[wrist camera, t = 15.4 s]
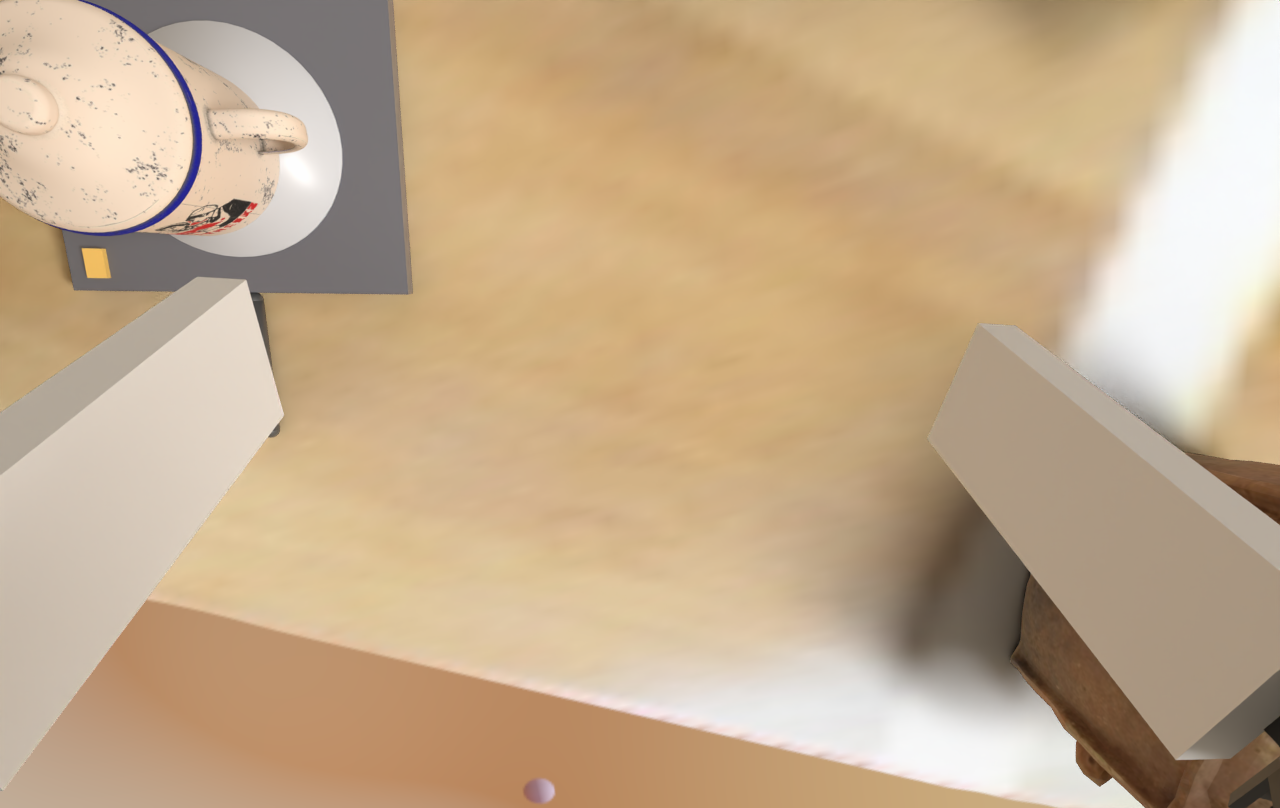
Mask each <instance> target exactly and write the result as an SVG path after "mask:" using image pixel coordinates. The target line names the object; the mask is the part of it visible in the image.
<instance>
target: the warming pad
mask: <svg viewBox="0 0 1280 808" xmlns="http://www.w3.org/2000/svg"><path fill="white" fill-rule="evenodd" d="M85 1H88V2H91V3H94V4H97V5H99V6H102V7H104V8H106V9H109V10H111V11H112V12H114V13H116V14H118V15H120V16H122V17H123V18H125V19H127V20H128V21H130V22H131V23H133V24H134V25H136V26H137V27H138V28H140V29H141V30H142V31H144V32H145V33H146V34H147V35H148V36H149V37H151V38H152V39H153V40H154V41H156V42H158V43H160V44H162V45H163V46H165V47H167V48H169V49H171V50H173V51H175V52H177V53H178V54H180V55H182V56H184V57H186V58H188V59H190V60H192V61H194V62H195V63H197V64H199V65H201V66H203V67H205V68H207V69H209V70H210V71H212V72H214V73H216V74H218V75H220V76H222V77H224V78H225V79H227V80H229V81H230V82H232V83H233V84H234V85H236V86H237V87H238V88H240V89H241V90H242V91H243V92H244V93H245V94H247V95H248V96H249V97H250V98H251V99H252V101H253V102H254V103H255V104H256V105H257V106H258V108H259V109H266V110H274V111H279V112H284V113H287V114H290V115H293V116H295V117H297V118H298V119H300V120H301V121H302V122H303V123H304V125H305V127H306V130H307V135H308V143H307V145H306V146H305V147H304V148H303V149H301V150H299V151H296V152H291V153H283V154H279V161H280V172H279V180H278V184H277V188H276V191H275V194H274V196H273V198H272V200H271V202H270V204H269V205H268V207H267V208H266V209H265V211H264V212H263V213H262V214H261V215H260V216H259V217H258V218H257V219H256V220H254V221H253V222H252V223H250V224H249V225H247V226H245V227H244V228H241V229H239V230H237V231H234V232H231V233H227V234H222V235H215V236H196V235H177V234H159V233H141V232H134V233H129V234H124V235H115V236H93V235H84V234H78V233H73V232H69V231H66V230H62V233H63V238H64V243H65V248H66V253H67V258H68V263H69V268H70V273H71V278H72V283H73V288H74V290H97V291H177V290H179V289H180V288H181V287H183V286H184V285H186V284H187V283H189V282H190V281H192V280H193V279H195V278H196V277H210V278H227V279H243V280H247V284H248V288H249V291H250V295H251V298H252V302H253V306H254V309H255V313H256V316H257V320H258V323H259V327H260V331H261V334H262V338H263V341H264V345H265V349H266V352H267V356H268V359H269V363H270V366H271V370H272V362H271V354H270V346H269V338H268V330H267V322H266V314H265V306H264V299H263V297H262V295H260V294H259V293H336V294H412V293H413V288H412V273H411V258H410V244H409V229H408V214H407V200H406V185H405V170H404V156H403V141H402V126H401V111H400V97H399V82H398V67H397V53H396V38H395V23H394V9H393V1H392V0H85ZM272 374H273V370H272ZM279 432H280V425H279V423H278V424H277V426H276V427H275V428H274V430H273V431H272V432H271V434H270V435H269V436H268V437H270V438H271V437H275V436H277V435H278V434H279Z"/></svg>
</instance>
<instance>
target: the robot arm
mask: <svg viewBox="0 0 1280 808" xmlns="http://www.w3.org/2000/svg"><path fill="white" fill-rule="evenodd" d="M283 416H284V413H283V409H282V406H281V402H280V399H279V395H278V392H277V388H276V384H275V381H274V377H273V374H272V370H271V366H270V363H269V359H268V356H267V352H266V349H265V345H264V341H263V338H262V334H261V331H260V327H259V323H258V320H257V316H256V313H255V309H254V306H253V302H252V298H251V295H250V291H249V288H248V284H247V280H243V279H227V278H210V277H196V278H195V279H193V280H192V281H190V282H189V283H187V284H186V285H184V286H183V287H181V288H180V289H179V290H177V291H176V292H174V293H173V294H171V295H170V296H168V297H167V298H166V299H164V300H163V301H161V302H160V303H158V304H157V305H155V306H154V307H152V308H151V309H150V310H148V311H147V312H145V313H144V314H142V315H141V316H139V317H138V318H137V319H135V320H134V321H132V322H131V323H129V324H128V325H126V326H125V327H123V328H122V329H121V330H119V331H118V332H116V333H115V334H113V335H112V336H110V337H109V338H108V339H106V340H105V341H103V342H102V343H100V344H99V345H97V346H96V347H94V348H93V349H92V350H90V351H89V352H87V353H86V354H84V355H83V356H81V357H80V358H79V359H77V360H76V361H74V362H73V363H71V364H70V365H68V366H67V367H65V368H64V369H63V370H61V371H60V372H58V373H57V374H55V375H54V376H52V377H51V378H50V379H48V380H47V381H45V382H44V383H42V384H41V385H39V386H38V387H36V388H35V389H34V390H32V391H31V392H29V393H28V394H26V395H25V396H23V397H22V398H21V399H19V400H18V401H16V402H15V403H13V404H12V405H10V406H9V407H7V408H6V409H5V410H3V411H2V412H0V791H4V789H5V788H6V787H7V785H8V784H9V783H10V781H11V780H12V779H13V777H14V776H15V775H16V773H17V772H18V770H19V769H20V768H21V767H22V765H23V764H24V763H25V761H26V760H27V759H28V757H29V756H30V755H31V753H32V752H33V751H34V749H35V748H36V746H37V745H38V744H39V742H40V741H41V740H42V738H43V737H44V736H45V734H46V733H47V732H48V730H49V729H50V728H51V726H52V725H53V724H54V722H55V721H56V720H57V718H58V717H59V716H60V714H61V713H62V712H63V710H64V709H65V707H66V706H67V705H68V704H69V702H70V701H71V700H72V698H73V697H74V696H75V694H76V693H77V692H78V690H79V689H80V688H81V686H82V685H83V684H84V682H85V681H86V680H87V678H88V677H89V676H90V674H91V673H92V671H93V670H94V669H95V668H96V666H97V665H98V664H99V662H100V661H101V660H102V658H103V657H104V656H105V654H106V653H107V651H108V650H109V649H110V647H111V646H112V645H113V644H114V642H115V641H116V640H117V638H118V637H119V635H120V634H121V633H122V631H123V630H124V629H125V627H126V626H127V625H128V623H129V622H130V621H131V619H132V618H133V617H134V615H135V614H136V613H137V611H138V610H139V609H140V607H141V606H142V605H143V603H144V602H145V601H146V599H147V598H148V597H149V595H150V594H151V593H152V591H153V590H154V589H155V587H156V586H157V585H158V583H159V582H160V581H161V579H162V578H163V577H164V575H165V574H166V573H167V571H168V570H169V569H170V567H171V566H172V565H173V563H174V562H175V561H176V559H177V558H178V557H179V555H180V554H181V553H182V551H183V550H184V549H185V547H186V546H187V545H188V543H189V542H190V541H191V539H192V538H193V537H194V535H195V534H196V533H197V531H198V530H199V529H200V527H201V526H202V525H203V523H204V522H205V520H206V519H207V518H208V516H209V515H210V514H211V512H212V511H213V510H214V508H215V507H216V506H217V504H218V503H219V502H220V500H221V499H222V498H223V496H224V495H225V494H226V492H227V491H228V490H229V488H230V487H231V486H232V484H233V483H234V482H235V480H236V479H237V478H238V476H239V475H240V474H241V472H242V471H243V470H244V468H245V467H246V466H247V464H248V463H249V462H250V460H251V459H252V458H253V456H254V455H255V454H256V452H257V451H258V450H259V448H260V447H261V446H262V444H263V443H264V442H265V440H266V439H267V438H268V436H269V435H270V434H271V432H272V431H273V430H274V428H275V427H276V426H277V424H278V423H279V422H280V420H281V419H282V418H283ZM927 440H928V441H929V442H930V444H931V445H932V446H933V448H934V449H935V450H936V451H937V453H938V454H939V455H940V457H941V458H942V459H943V460H944V462H945V463H946V464H947V466H948V467H949V468H950V469H951V471H952V472H953V473H954V475H955V476H956V477H957V478H958V480H959V481H960V482H961V484H962V485H963V486H964V488H965V489H966V490H967V491H968V493H969V494H970V495H971V497H972V498H973V499H974V500H975V502H976V503H977V504H978V506H979V507H980V508H981V509H982V511H983V512H984V513H985V515H986V516H987V517H988V518H989V520H990V521H991V522H992V524H993V525H994V526H995V528H996V529H997V530H998V531H999V533H1000V534H1001V535H1002V537H1003V538H1004V539H1005V540H1006V542H1007V543H1008V544H1009V546H1010V547H1011V548H1012V549H1013V551H1014V552H1015V553H1016V555H1017V556H1018V557H1019V558H1020V560H1021V561H1022V562H1023V564H1024V565H1025V566H1026V567H1027V569H1028V570H1029V571H1030V573H1031V574H1032V575H1033V577H1034V578H1035V579H1036V580H1037V582H1038V583H1039V584H1040V586H1041V587H1042V588H1043V589H1044V591H1045V592H1046V593H1047V595H1048V596H1049V597H1050V598H1051V600H1052V601H1053V602H1054V604H1055V605H1056V606H1057V607H1058V609H1059V610H1060V611H1061V613H1062V614H1063V615H1064V617H1065V618H1066V619H1067V620H1068V622H1069V623H1070V624H1071V626H1072V627H1073V628H1074V629H1075V631H1076V632H1077V633H1078V635H1079V636H1080V637H1081V638H1082V640H1083V641H1084V642H1085V644H1086V645H1087V646H1088V647H1089V649H1090V650H1091V651H1092V653H1093V654H1094V655H1095V657H1096V658H1097V659H1098V660H1099V662H1100V663H1101V664H1102V666H1103V667H1104V668H1105V669H1106V671H1107V672H1108V673H1109V675H1110V676H1111V677H1112V678H1113V680H1114V681H1115V682H1116V684H1117V685H1118V686H1119V687H1120V689H1121V690H1122V691H1123V693H1124V694H1125V695H1126V697H1127V698H1128V699H1129V700H1130V702H1131V703H1132V704H1133V706H1134V707H1135V708H1136V709H1137V711H1138V712H1139V713H1140V715H1141V716H1142V717H1143V718H1144V720H1145V721H1146V722H1147V724H1148V725H1149V726H1150V727H1151V729H1152V730H1153V731H1154V733H1155V734H1156V735H1157V736H1158V738H1159V739H1160V740H1161V742H1162V743H1163V744H1164V746H1165V747H1166V748H1167V749H1168V751H1169V752H1170V753H1171V755H1172V756H1173V757H1174V758H1175V760H1198V759H1231V758H1232V757H1233V756H1234V755H1236V754H1237V753H1238V752H1239V751H1241V750H1242V749H1243V748H1244V747H1245V746H1247V745H1248V744H1249V743H1250V742H1252V741H1253V740H1254V739H1255V738H1257V737H1258V736H1259V735H1260V734H1262V733H1263V732H1264V731H1265V732H1266V733H1267V734H1268V735H1269V736H1270V737H1271V738H1272V739H1273V740H1274V741H1275V742H1276V744H1277V745H1278V746H1279V747H1280V525H1279V524H1278V523H1276V522H1275V521H1274V520H1272V519H1271V518H1270V517H1268V516H1267V515H1266V514H1264V513H1263V512H1262V511H1260V510H1259V509H1258V508H1257V507H1255V506H1254V505H1253V504H1251V503H1250V502H1249V501H1247V500H1246V499H1245V498H1243V497H1242V496H1241V495H1239V494H1238V493H1237V492H1235V491H1234V490H1233V489H1231V488H1230V487H1229V486H1227V485H1226V484H1225V483H1223V482H1222V481H1221V480H1219V479H1218V478H1217V477H1215V476H1214V475H1213V474H1211V473H1210V472H1209V471H1207V470H1206V469H1205V468H1203V467H1202V466H1201V465H1200V464H1198V463H1197V462H1196V461H1194V460H1193V459H1192V458H1190V457H1189V456H1188V455H1186V454H1185V453H1184V452H1182V451H1181V450H1180V449H1178V448H1177V447H1176V446H1174V445H1173V444H1172V443H1170V442H1169V441H1168V440H1166V439H1165V438H1164V437H1162V436H1161V435H1160V434H1158V433H1157V432H1156V431H1154V430H1153V429H1152V428H1150V427H1149V426H1148V425H1146V424H1145V423H1144V422H1142V421H1141V420H1140V419H1139V418H1137V417H1136V416H1135V415H1133V414H1132V413H1131V412H1129V411H1128V410H1127V409H1125V408H1124V407H1123V406H1121V405H1120V404H1119V403H1117V402H1116V401H1115V400H1113V399H1112V398H1111V397H1109V396H1108V395H1107V394H1105V393H1104V392H1103V391H1101V390H1100V389H1099V388H1097V387H1096V386H1095V385H1093V384H1092V383H1091V382H1089V381H1088V380H1087V379H1085V378H1084V377H1083V376H1082V375H1080V374H1079V373H1078V372H1076V371H1075V370H1074V369H1072V368H1071V367H1070V366H1068V365H1067V364H1066V363H1064V362H1063V361H1062V360H1060V359H1059V358H1058V357H1056V356H1055V355H1054V354H1052V353H1051V352H1050V351H1048V350H1047V349H1046V348H1044V347H1043V346H1042V345H1040V344H1039V343H1038V342H1036V341H1035V340H1034V339H1032V338H1031V337H1030V336H1028V335H1027V334H1026V333H1024V332H1023V331H1022V330H1021V329H1019V328H1018V327H1017V326H1015V325H999V324H982V323H978V325H977V327H976V329H975V331H974V334H973V336H972V338H971V340H970V343H969V345H968V347H967V349H966V352H965V354H964V356H963V358H962V361H961V363H960V365H959V367H958V370H957V372H956V374H955V376H954V379H953V381H952V383H951V385H950V388H949V390H948V392H947V394H946V397H945V399H944V401H943V404H942V406H941V408H940V410H939V413H938V415H937V417H936V419H935V422H934V424H933V426H932V428H931V431H930V433H929V435H928V437H927ZM1259 798H1262V799H1265V800H1269V801H1272V804H1273V806H1271V807H1270V808H1280V756H1279V757H1278V758H1277V759H1275V760H1274V761H1273V762H1271V763H1270V764H1269V765H1267V766H1266V767H1265V768H1264V769H1262V770H1261V771H1260V772H1258V773H1257V774H1256V775H1254V776H1253V777H1252V778H1250V779H1249V780H1248V781H1246V782H1245V783H1244V784H1242V785H1241V786H1240V787H1238V788H1237V789H1236V790H1235V791H1233V792H1232V793H1231V794H1230V798H1229V803H1228V807H1229V808H1246V807H1248V806H1249V805H1251V804H1252V803H1253V802H1255V801H1256V800H1258V799H1259Z"/></svg>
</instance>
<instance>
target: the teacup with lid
mask: <svg viewBox="0 0 1280 808" xmlns="http://www.w3.org/2000/svg"><path fill="white" fill-rule="evenodd" d="M307 143H308V135H307V130H306V127H305V125H304V123H303V122H302V121H301V120H300V119H298V118H297V117H295V116H293V115H290V114H287V113H284V112H279V111H274V110H266V109H259V108H258V106H257V105H256V104H255V103H254V102H253V101H252V99H251V98H250V97H249V96H248V95H247V94H245V93H244V92H243V91H242V90H241V89H240V88H238V87H237V86H236V85H234V84H233V83H232V82H230V81H229V80H227V79H225V78H224V77H222V76H220V75H218V74H216V73H214V72H212V71H210V70H209V69H207V68H205V67H203V66H201V65H199V64H197V63H195V62H194V61H192V60H190V59H188V58H186V57H184V56H182V55H180V54H178V53H177V52H175V51H173V50H171V49H169V48H167V47H165V46H163V45H162V44H160V43H158V42H156V41H154V40H153V39H152V38H151V37H149V36H148V35H147V34H146V33H145V32H144V31H142V30H141V29H140V28H138V27H137V26H136V25H134V24H133V23H131V22H130V21H128V20H127V19H125V18H123V17H122V16H120V15H118V14H116V13H114V12H112V11H111V10H109V9H106V8H104V7H102V6H99V5H97V4H94V3H91V2H88V1H85V0H2V1H0V197H2V198H3V199H4V200H6V201H7V202H8V203H9V204H11V205H13V206H14V207H16V208H17V209H19V210H20V211H22V212H24V213H26V214H28V215H29V216H31V217H33V218H35V219H37V220H39V221H41V222H44V223H46V224H48V225H51V226H53V227H56V228H59V229H62V230H66V231H69V232H73V233H78V234H84V235H93V236H115V235H124V234H129V233H134V232H141V233H159V234H177V235H196V236H215V235H222V234H227V233H231V232H234V231H237V230H239V229H241V228H244V227H245V226H247V225H249V224H250V223H252V222H253V221H254V220H256V219H257V218H258V217H259V216H260V215H261V214H262V213H263V212H264V211H265V209H266V208H267V207H268V205H269V204H270V202H271V200H272V198H273V196H274V194H275V191H276V188H277V184H278V180H279V172H280V161H279V154H283V153H291V152H296V151H299V150H301V149H303V148H304V147H305V146H306V145H307Z"/></svg>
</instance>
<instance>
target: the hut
mask: <svg viewBox="0 0 1280 808" xmlns="http://www.w3.org/2000/svg"><path fill="white" fill-rule="evenodd" d="M1185 454H1186V455H1188V456H1189V457H1190V458H1192V459H1193V460H1194V461H1196V462H1197V463H1198V464H1200V465H1201V466H1202V467H1203V468H1205V469H1206V470H1207V471H1209V472H1210V473H1211V474H1213V475H1214V476H1215V477H1217V478H1218V479H1219V480H1221V481H1222V482H1223V483H1225V484H1226V485H1227V486H1229V487H1230V488H1231V489H1233V490H1234V491H1235V492H1237V493H1238V494H1239V495H1241V496H1242V497H1243V498H1245V499H1246V500H1247V501H1249V502H1250V503H1251V504H1253V505H1254V506H1255V507H1257V508H1258V509H1259V510H1260V511H1262V512H1263V513H1264V514H1266V515H1267V516H1268V517H1270V518H1271V519H1272V520H1274V521H1275V522H1276V523H1278V524H1279V525H1280V465H1275V464H1268V463H1261V462H1253V461H1240V460H1228V459H1222V458H1217V457H1211V456H1205V455H1199V454H1192V453H1185ZM1010 660H1011V664H1012V665H1013V666H1014V667H1016V668H1017V669H1018V670H1019V671H1020V673H1021V675H1022V676H1023V678H1024V679H1025V680H1026V681H1027V683H1028V684H1029V685H1030V686H1031V687H1032V689H1033V690H1034V691H1035V692H1036V693H1037V694H1038V695H1039V696H1040V697H1041V698H1042V699H1043V700H1044V701H1045V702H1046V703H1047V704H1048V705H1049V706H1050V707H1051V708H1052V710H1053V711H1054V713H1055V715H1056V716H1057V718H1058V720H1059V721H1060V723H1061V724H1062V726H1063V728H1064V729H1065V730H1066V731H1067V732H1068V733H1069V734H1070V735H1071V736H1072V737H1074V738H1075V739H1076V740H1077V742H1076V763H1077V764H1078V766H1079V767H1080V769H1081V771H1082V772H1083V774H1084V775H1086V776H1087V777H1088V778H1089V779H1091V780H1092V781H1093V782H1094V783H1096V784H1097V785H1098V786H1099V787H1100V786H1101V785H1103V784H1104V783H1106V782H1107V781H1109V780H1110V779H1111V778H1112V777H1113V778H1114V779H1115V780H1116V781H1117V782H1118V783H1119V784H1120V785H1121V786H1123V787H1124V788H1125V789H1126V790H1127V791H1128V792H1129V793H1130V794H1131V795H1132V796H1133V797H1134V798H1135V799H1136V800H1138V801H1139V802H1140V803H1141V804H1142V805H1143V806H1144V807H1145V808H1229V807H1228V803H1229V798H1230V794H1231V793H1232V792H1233V791H1235V790H1236V789H1237V788H1238V787H1240V786H1241V785H1242V784H1244V783H1245V782H1246V781H1248V780H1249V779H1250V778H1252V777H1253V776H1254V775H1256V774H1257V773H1258V772H1260V771H1261V770H1262V769H1264V768H1265V767H1266V766H1267V765H1269V764H1270V763H1271V762H1273V761H1274V760H1275V759H1277V758H1278V757H1279V756H1280V747H1279V746H1278V745H1277V744H1276V742H1275V741H1274V740H1273V739H1272V738H1271V737H1270V736H1269V735H1268V734H1267V733H1266V732H1265V731H1264V732H1263V733H1262V734H1260V735H1259V736H1258V737H1257V738H1255V739H1254V740H1253V741H1252V742H1250V743H1249V744H1248V745H1247V746H1245V747H1244V748H1243V749H1242V750H1241V751H1239V752H1238V753H1237V754H1236V755H1234V756H1233V757H1232V758H1231V759H1198V760H1175V758H1174V757H1173V756H1172V755H1171V753H1170V752H1169V751H1168V749H1167V748H1166V747H1165V746H1164V744H1163V743H1162V742H1161V740H1160V739H1159V738H1158V736H1157V735H1156V734H1155V733H1154V731H1153V730H1152V729H1151V727H1150V726H1149V725H1148V724H1147V722H1146V721H1145V720H1144V718H1143V717H1142V716H1141V715H1140V713H1139V712H1138V711H1137V709H1136V708H1135V707H1134V706H1133V704H1132V703H1131V702H1130V700H1129V699H1128V698H1127V697H1126V695H1125V694H1124V693H1123V691H1122V690H1121V689H1120V687H1119V686H1118V685H1117V684H1116V682H1115V681H1114V680H1113V678H1112V677H1111V676H1110V675H1109V673H1108V672H1107V671H1106V669H1105V668H1104V667H1103V666H1102V664H1101V663H1100V662H1099V660H1098V659H1097V658H1096V657H1095V655H1094V654H1093V653H1092V651H1091V650H1090V649H1089V647H1088V646H1087V645H1086V644H1085V642H1084V641H1083V640H1082V638H1081V637H1080V636H1079V635H1078V633H1077V632H1076V631H1075V629H1074V628H1073V627H1072V626H1071V624H1070V623H1069V622H1068V620H1067V619H1066V618H1065V617H1064V615H1063V614H1062V613H1061V611H1060V610H1059V609H1058V607H1057V606H1056V605H1055V604H1054V602H1053V601H1052V600H1051V598H1050V597H1049V596H1048V595H1047V593H1046V592H1045V591H1044V589H1043V588H1042V587H1041V586H1040V584H1039V583H1038V582H1037V580H1036V579H1035V578H1034V577H1033V575H1032V574H1031V575H1030V578H1029V581H1028V584H1027V586H1026V593H1025V599H1024V605H1023V611H1022V624H1021V639H1020V642H1019V645H1018V646H1017V648H1016V649H1015V651H1014V652H1013V654H1012V655H1011V659H1010ZM1271 806H1273V804H1272V801H1269V800H1265V799H1262V798H1259V799H1258V800H1256V801H1255V802H1253V803H1252V804H1251V805H1249V806H1248V807H1246V808H1270V807H1271Z"/></svg>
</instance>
